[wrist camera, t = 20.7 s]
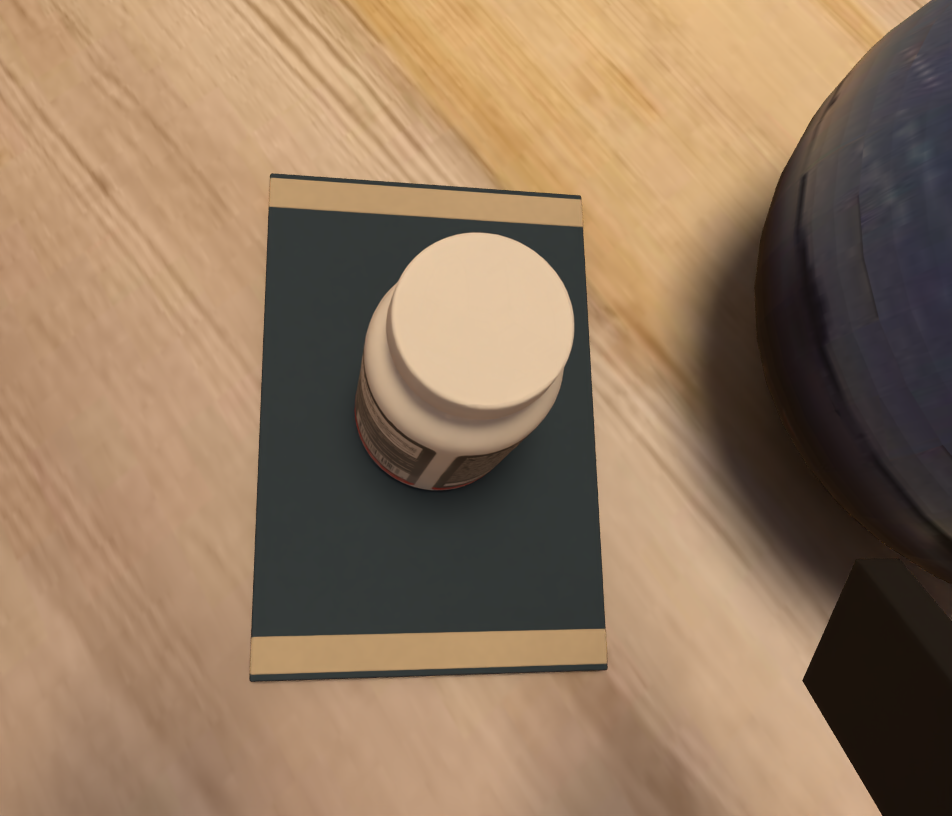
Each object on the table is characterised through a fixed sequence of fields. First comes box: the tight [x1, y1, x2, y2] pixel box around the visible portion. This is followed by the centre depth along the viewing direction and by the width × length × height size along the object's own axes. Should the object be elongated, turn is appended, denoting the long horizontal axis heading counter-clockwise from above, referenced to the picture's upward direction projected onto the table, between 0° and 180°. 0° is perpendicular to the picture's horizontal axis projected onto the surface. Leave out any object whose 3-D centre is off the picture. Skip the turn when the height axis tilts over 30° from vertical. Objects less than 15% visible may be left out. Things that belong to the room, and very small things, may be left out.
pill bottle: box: [355, 233, 574, 490], centre depth 26 cm, size 6×6×10 cm
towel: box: [250, 174, 608, 682], centre depth 31 cm, size 18×12×1 cm, turn 1°
